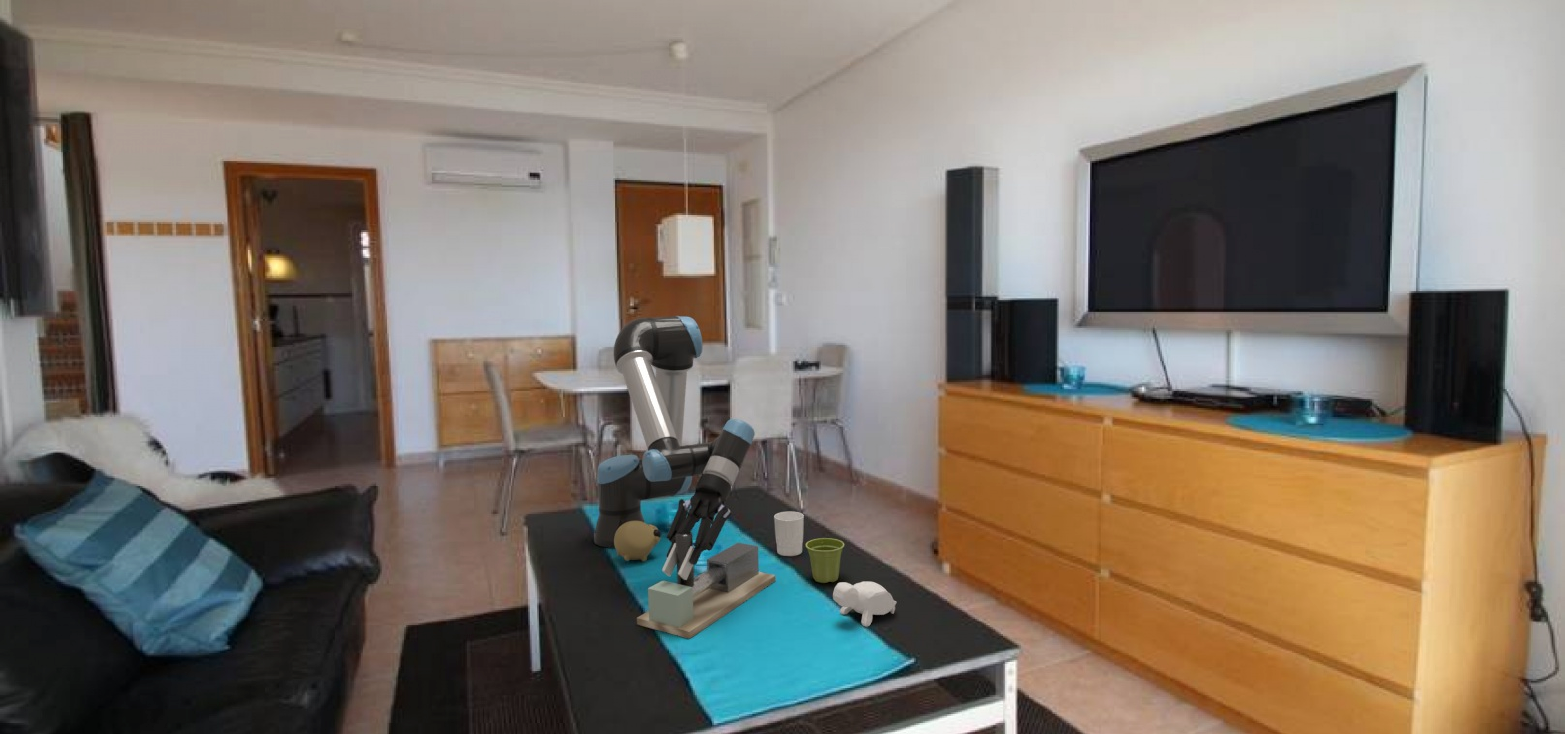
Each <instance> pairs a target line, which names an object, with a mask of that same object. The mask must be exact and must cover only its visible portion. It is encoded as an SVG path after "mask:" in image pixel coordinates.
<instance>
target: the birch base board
mask: <svg viewBox="0 0 1565 734" xmlns="http://www.w3.org/2000/svg"><path fill="white" fill-rule="evenodd" d="M775 582H776V575H775V574H771V573H766V572H763V571H762V572H761V571H759V574H757V575H756V576H754V577H753V578H751V579H749V580H748V581H746V582H745V583H743V584H742V585H740V586H738V587H737V588H735V589H734V590H732V591H730V592H729V593H727V592H723V591H718V590H714V589H710V588H708V589H707V590H705V591H703V592H702V593H700V594H698V595H697V596H695V597H693V618H694V619H692V620H690V621H689V622H687V623H686V624H684V625H683V626H681V627H679V628H678V627H674V626H671V625H667V624H663V623H659V622H656V621H652V620H649V610H647V611H646V612H644V613H642V614H641V615H639V616H638V617H636V625H637V626H641V627H645V628H649V629H651V630H657V631H659V632H660V631H661V632H663V633H666V632H667V634H671V635H674V636H677V635H678V637H682V638H684V639H685V638H686V639H687V640H688V639H689V640H690V639H691V638H693V637H694V636H696V635H697V634H699V633H701V632H702V631H703V630H705V629H706V628H708V627H709V626H711V625H712V624H714V623H715V622H717V621H718V620H720V619H721V618H723V617H724V616H726V615H728V614H729V613H730V612H732V611H733V610H735V609H736V608H738V607H739V606H741V605H742V604H743V602H744V603H745V602H747V601H748V600H750V599H751V598H752V597H754V596H756V595H757V594H759V593H760V592H762V591H763V590H765V589H766V588H767V586H768V587H769V586H770V585H772V584H773V583H775ZM771 583H772V584H771ZM764 588H765V589H764ZM761 590H762V591H761ZM749 598H750V599H749ZM746 600H747V601H746Z"/></svg>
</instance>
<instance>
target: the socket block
mask: <svg viewBox="0 0 1565 734" xmlns="http://www.w3.org/2000/svg"><path fill="white" fill-rule="evenodd" d="M647 597H648V598H647V600H648V611H649V620H652V621H656V622H659V623H663V624H667V625H671V626H674V627H678V628H679V627H681V626H683V625H684V624H686V623H687V622H689V621H690V620H692V619H694V618H693V591H692V587H689V586H685V585H680V584H677V582H676V583H675V582H672V581H666V580H661V581H659V582H657V583H655V584H654V585H651V586H649V587H648V588H647Z"/></svg>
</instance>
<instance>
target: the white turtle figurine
mask: <svg viewBox="0 0 1565 734" xmlns="http://www.w3.org/2000/svg"><path fill="white" fill-rule="evenodd" d="M832 600H833V601H834V602H836V604H838V605H839V606H840V607H841V608H840V610H839V613H840V615H848V614H849V613H850V612H851V611H852V610H854V611H855V612H856V613H859V614H861V615H862V616H861V621H860V623H861V625H862V626H863V627H866V628H868V627H870V625H871V623H872V622H873V616H874V615H875V616H880V615H881V616H882V615H883V616H884V615H886V614H888V613H889V612H890V613H891V614H892V615H893V614H894V613H895V610H896V604H897V601H896V600H894V598H893V595H892V594H891V593H890V592H889V591H887V589H886V588H885V587H883V586H882V585H881V584H879V583H877V582H874V581H861V582H857V583H855V584H851V583H849V582H846V581H845V582H843V581H842V582H838V583H837V584H836V585H835V587H834V589H833V593H832Z"/></svg>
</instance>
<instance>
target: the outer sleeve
mask: <svg viewBox="0 0 1565 734" xmlns="http://www.w3.org/2000/svg"><path fill="white" fill-rule="evenodd" d="M718 564H719V565H724V566H725V568H726V578H725V579H723V580H722V581H720V582H718V583H717V584H715V585H713V586H712V587H710V589H714V590H718V591H723V592H727V593H729V592H730V591H732V590H734V589H735V588H737V587H738V586H740V585H742V584H743V583H745V582H746V581H748V580H749V579H751V578H753V577H754V576H756V575H757V574H759V572H760V571H759V570H760V569H759V568H760V567H759V566H760V563H759V545H753V544H748V543H742V542H736V543H734V544H732V545H730V546H729V547H728V548H726V549H724V550H722V551H720V552H719V553H716V554H715V555H712V556H710V557H709V558H708V559H706V567H707V569H706V571H707V570H709V569H711V568H712V567H714V566H716V565H718Z"/></svg>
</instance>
